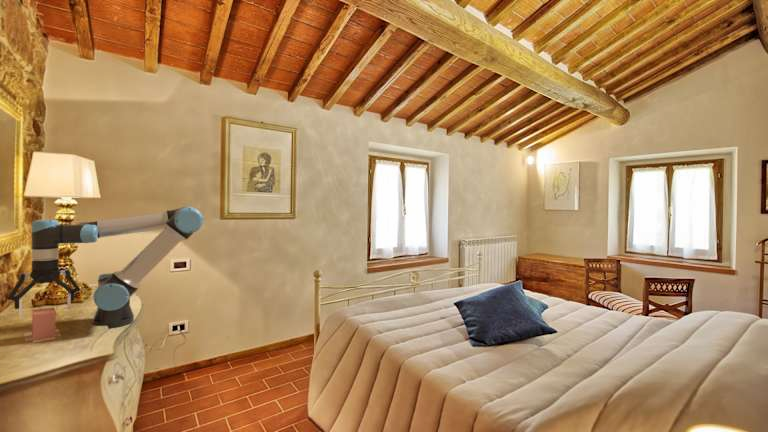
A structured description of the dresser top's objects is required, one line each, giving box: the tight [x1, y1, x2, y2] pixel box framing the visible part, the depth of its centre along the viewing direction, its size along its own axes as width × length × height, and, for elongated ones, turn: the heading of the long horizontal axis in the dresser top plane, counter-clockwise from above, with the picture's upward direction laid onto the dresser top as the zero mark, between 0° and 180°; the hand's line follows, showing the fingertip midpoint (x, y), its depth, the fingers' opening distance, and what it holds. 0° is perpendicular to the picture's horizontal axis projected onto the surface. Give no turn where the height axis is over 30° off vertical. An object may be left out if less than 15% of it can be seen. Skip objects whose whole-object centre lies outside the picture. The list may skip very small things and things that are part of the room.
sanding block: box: [31, 306, 57, 344], centre depth 135 cm, size 8×6×10 cm
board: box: [23, 326, 63, 345], centre depth 138 cm, size 16×10×1 cm, turn 48°
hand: (45, 312), depth 136 cm, fingers open, 13 cm apart
